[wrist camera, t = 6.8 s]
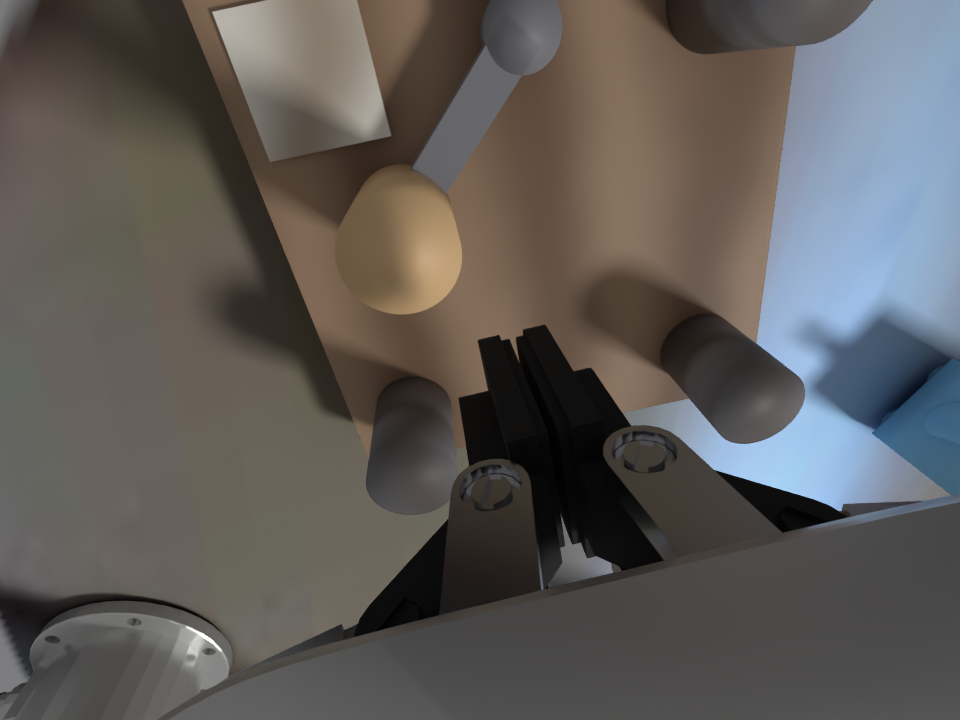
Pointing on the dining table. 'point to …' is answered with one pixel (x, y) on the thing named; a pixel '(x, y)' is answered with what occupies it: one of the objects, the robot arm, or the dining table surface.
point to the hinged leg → (439, 171)
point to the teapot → (929, 427)
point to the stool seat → (532, 200)
